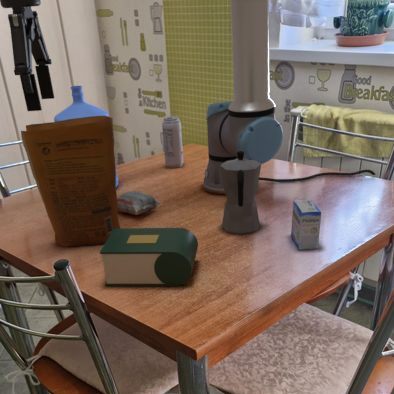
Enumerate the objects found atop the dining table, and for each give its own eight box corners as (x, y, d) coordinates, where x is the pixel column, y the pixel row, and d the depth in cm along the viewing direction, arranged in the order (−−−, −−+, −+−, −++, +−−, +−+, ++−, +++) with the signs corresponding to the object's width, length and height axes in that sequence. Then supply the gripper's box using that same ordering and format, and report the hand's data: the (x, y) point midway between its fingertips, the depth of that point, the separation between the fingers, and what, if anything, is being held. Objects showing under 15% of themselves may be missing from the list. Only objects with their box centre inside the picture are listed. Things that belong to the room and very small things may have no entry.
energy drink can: (186, 166, 172) (183, 117, 163) (170, 169, 170) (166, 120, 161) (178, 162, 176) (174, 114, 168) (162, 165, 174) (158, 117, 165)
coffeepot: (222, 217, 133) (220, 144, 122) (259, 216, 132) (260, 142, 121) (220, 242, 120) (218, 162, 110) (261, 241, 119) (262, 161, 109)
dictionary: (198, 260, 113) (197, 227, 109) (192, 286, 103) (190, 251, 99) (118, 260, 115) (113, 227, 111) (105, 286, 105) (99, 251, 101)
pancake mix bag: (129, 244, 122) (111, 117, 106) (47, 252, 121) (17, 124, 105) (129, 233, 127) (112, 110, 111) (51, 240, 126) (22, 117, 110)
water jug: (84, 178, 167) (67, 81, 150) (127, 181, 161) (115, 82, 145) (57, 194, 155) (35, 91, 139) (103, 198, 150) (85, 92, 134)
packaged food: (138, 221, 133) (136, 202, 130) (107, 212, 140) (105, 194, 137) (161, 211, 139) (159, 193, 136) (131, 203, 145) (129, 186, 142)
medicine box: (290, 236, 121) (292, 200, 116) (309, 235, 121) (312, 198, 116) (298, 250, 114) (301, 212, 109) (318, 248, 114) (322, 211, 109)
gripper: (13, -17, 108) (36, 95, 120) (-24, -17, 88) (8, 117, 100) (49, -19, 108) (69, 93, 120) (20, -20, 88) (47, 115, 100)
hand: (41, 104), depth 110 cm, fingers open, 13 cm apart
